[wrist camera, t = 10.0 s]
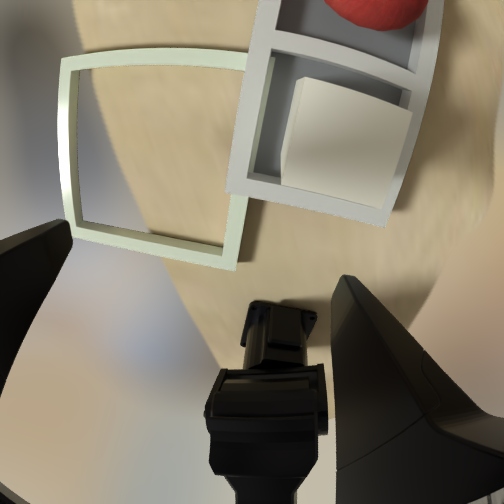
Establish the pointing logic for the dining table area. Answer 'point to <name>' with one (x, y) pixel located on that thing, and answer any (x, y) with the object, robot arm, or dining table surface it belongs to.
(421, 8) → the onion
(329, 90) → the cream block
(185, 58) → the pale green square frame
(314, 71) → the grey divided tray
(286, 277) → the dining table surface
